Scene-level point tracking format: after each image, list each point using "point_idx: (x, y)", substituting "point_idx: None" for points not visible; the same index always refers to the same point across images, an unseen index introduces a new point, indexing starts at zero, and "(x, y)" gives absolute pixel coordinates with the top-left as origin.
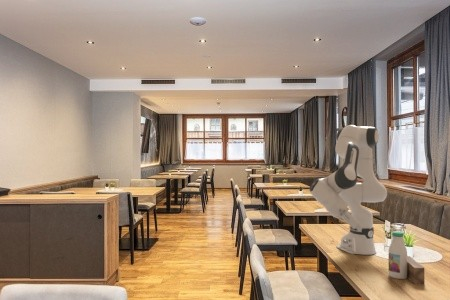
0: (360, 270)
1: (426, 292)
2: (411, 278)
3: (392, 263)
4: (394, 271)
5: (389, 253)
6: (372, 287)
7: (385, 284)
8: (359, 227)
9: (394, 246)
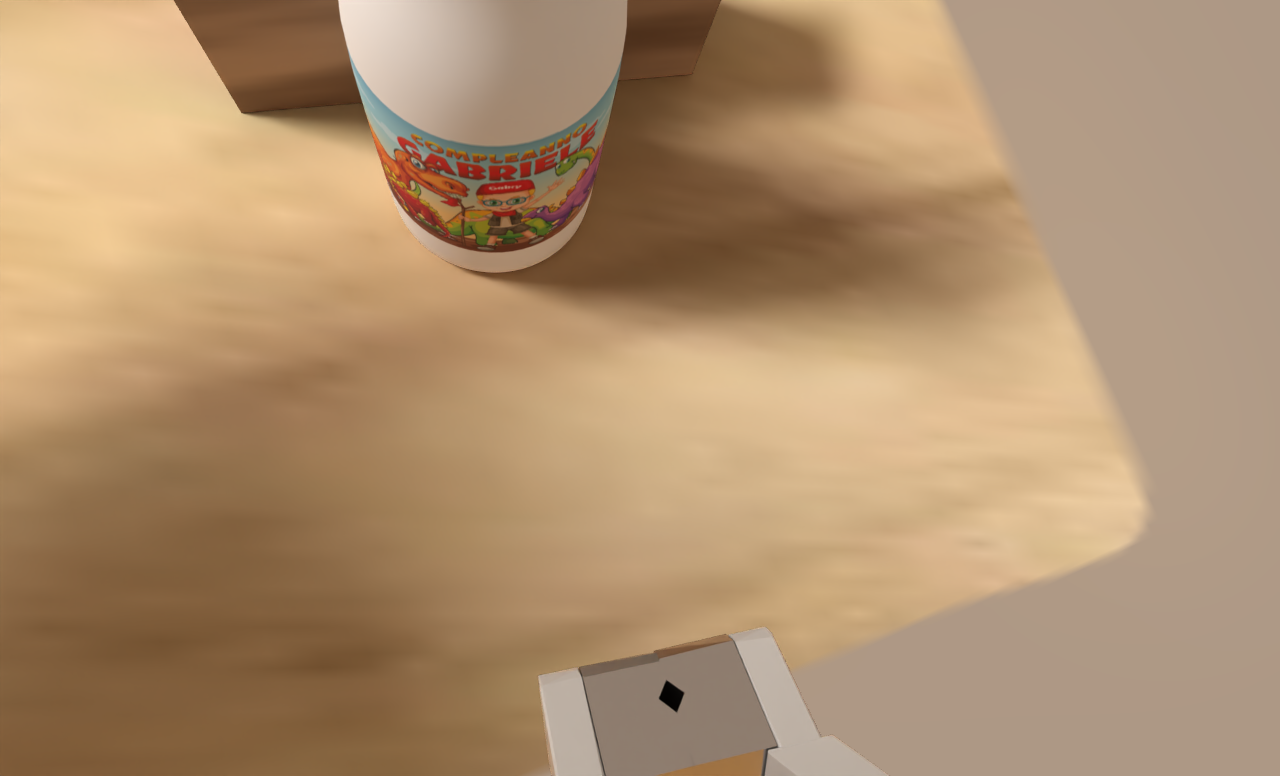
0: (369, 596)
1: (883, 28)
2: None
3: (580, 177)
4: (588, 198)
5: (533, 147)
6: (939, 480)
7: (802, 346)
8: (811, 734)
9: (593, 2)
